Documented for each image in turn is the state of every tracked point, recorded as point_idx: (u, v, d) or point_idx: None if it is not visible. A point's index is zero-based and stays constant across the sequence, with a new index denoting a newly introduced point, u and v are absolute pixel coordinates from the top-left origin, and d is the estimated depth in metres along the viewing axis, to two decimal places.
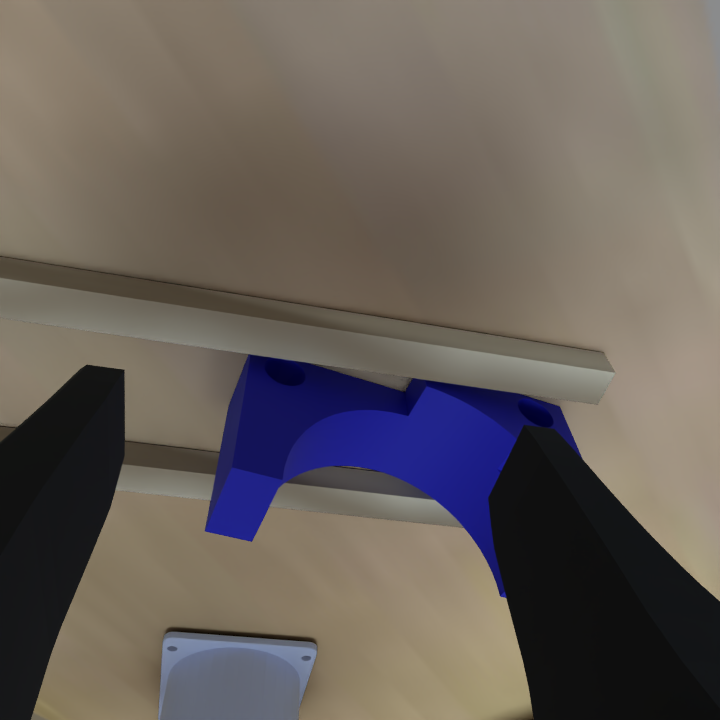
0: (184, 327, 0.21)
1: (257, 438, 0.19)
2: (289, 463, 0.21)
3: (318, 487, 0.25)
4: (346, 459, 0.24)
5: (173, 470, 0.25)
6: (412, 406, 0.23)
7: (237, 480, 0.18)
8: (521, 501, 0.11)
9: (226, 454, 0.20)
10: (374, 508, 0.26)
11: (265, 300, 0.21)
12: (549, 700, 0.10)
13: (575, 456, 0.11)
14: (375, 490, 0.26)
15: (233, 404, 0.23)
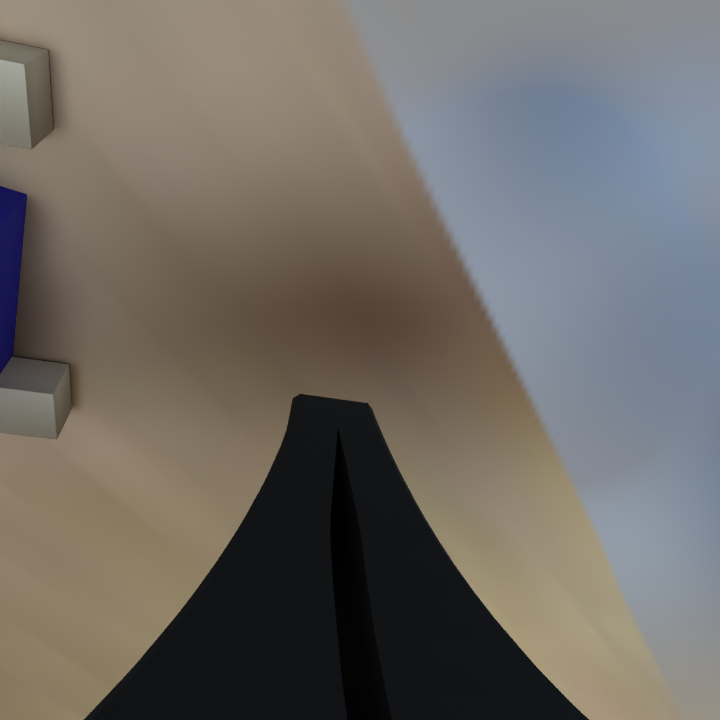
0: None
1: None
2: None
3: None
4: None
5: None
6: None
7: None
8: None
9: None
10: None
11: None
12: None
13: (373, 430, 0.10)
14: None
15: None
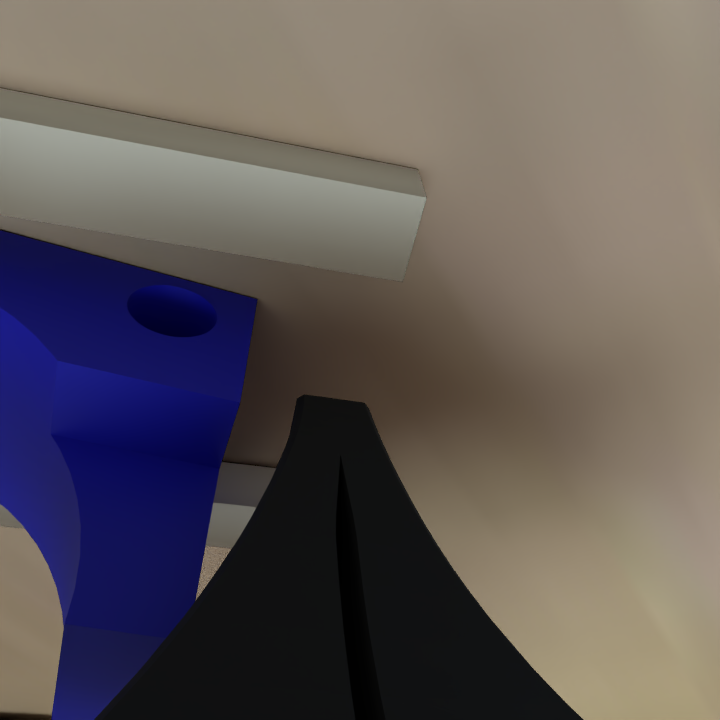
0: None
1: None
2: None
3: None
4: None
5: None
6: None
7: None
8: None
9: None
10: None
11: None
12: None
13: (370, 429, 0.10)
14: None
15: None
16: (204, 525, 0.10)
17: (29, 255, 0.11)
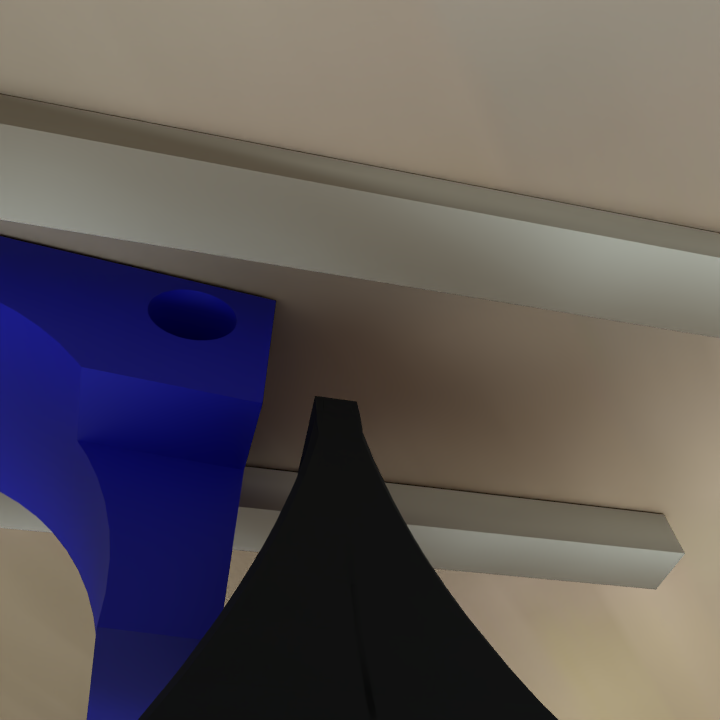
0: (8, 178, 0.09)
1: None
2: None
3: None
4: None
5: None
6: None
7: None
8: None
9: None
10: None
11: (191, 133, 0.10)
12: None
13: (352, 427, 0.10)
14: (408, 520, 0.15)
15: None
16: (231, 526, 0.10)
17: (49, 264, 0.11)
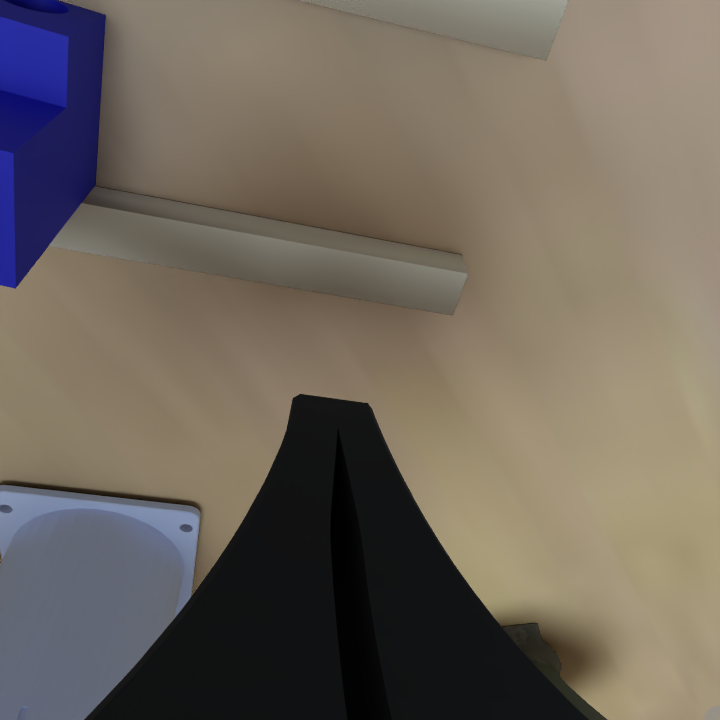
0: None
1: None
2: None
3: (147, 216, 0.18)
4: None
5: None
6: None
7: None
8: None
9: None
10: (235, 260, 0.18)
11: None
12: None
13: (373, 430, 0.10)
14: (233, 228, 0.18)
15: None
16: (44, 122, 0.13)
17: None
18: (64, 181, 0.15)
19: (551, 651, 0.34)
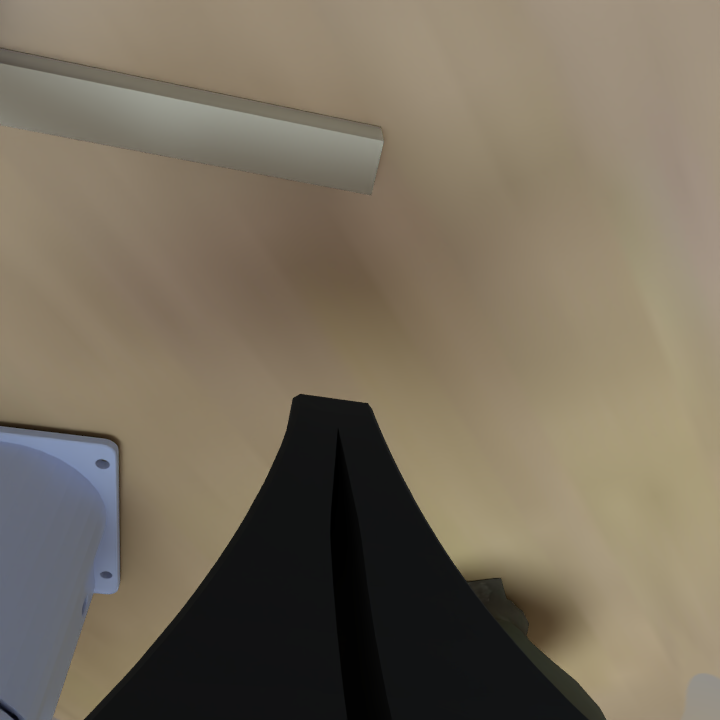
0: None
1: None
2: None
3: (4, 65, 0.15)
4: None
5: None
6: None
7: None
8: None
9: None
10: (113, 124, 0.16)
11: None
12: None
13: (373, 430, 0.10)
14: (106, 83, 0.16)
15: None
16: None
17: None
18: None
19: (517, 610, 0.31)
